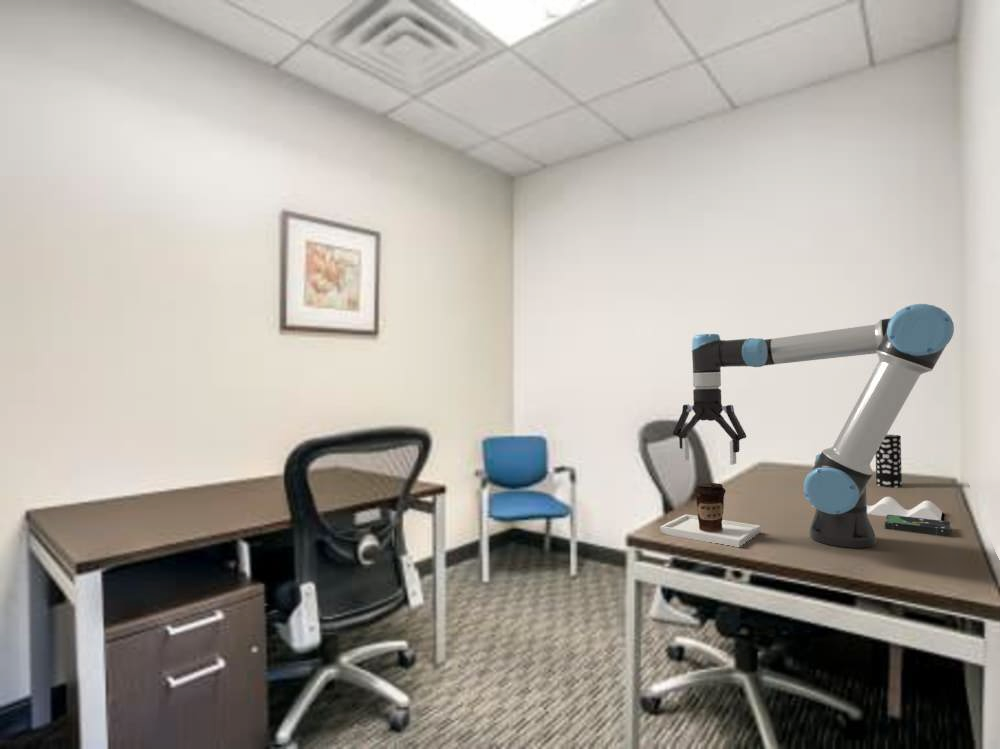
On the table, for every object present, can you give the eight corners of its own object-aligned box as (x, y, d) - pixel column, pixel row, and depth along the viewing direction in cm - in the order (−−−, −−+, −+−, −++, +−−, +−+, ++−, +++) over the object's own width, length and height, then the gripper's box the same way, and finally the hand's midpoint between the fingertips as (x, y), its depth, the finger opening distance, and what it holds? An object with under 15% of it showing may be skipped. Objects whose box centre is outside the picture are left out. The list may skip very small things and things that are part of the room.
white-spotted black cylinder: (907, 487, 215) (905, 436, 215) (885, 487, 215) (884, 436, 215) (892, 483, 223) (890, 434, 223) (871, 483, 223) (870, 434, 223)
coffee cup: (729, 534, 152) (728, 487, 152) (697, 533, 154) (696, 487, 154) (723, 526, 161) (722, 481, 161) (693, 525, 162) (692, 481, 163)
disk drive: (949, 531, 158) (886, 522, 167) (949, 521, 158) (886, 513, 167) (950, 539, 149) (884, 530, 159) (950, 529, 149) (884, 520, 159)
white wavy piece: (945, 525, 163) (945, 508, 163) (812, 509, 186) (812, 494, 186) (946, 516, 173) (946, 500, 173) (820, 502, 196) (819, 487, 196)
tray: (760, 532, 157) (760, 525, 157) (739, 548, 144) (739, 540, 144) (685, 520, 172) (685, 514, 172) (660, 533, 158) (659, 526, 158)
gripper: (756, 387, 152) (759, 463, 152) (671, 388, 169) (673, 457, 169) (748, 388, 147) (750, 467, 147) (660, 388, 163) (662, 460, 163)
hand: (708, 462), depth 158 cm, fingers open, 13 cm apart
